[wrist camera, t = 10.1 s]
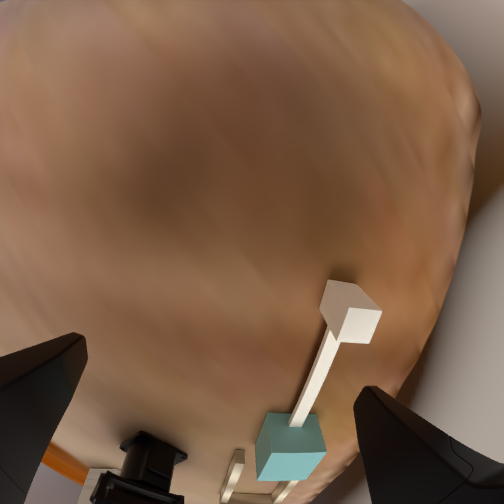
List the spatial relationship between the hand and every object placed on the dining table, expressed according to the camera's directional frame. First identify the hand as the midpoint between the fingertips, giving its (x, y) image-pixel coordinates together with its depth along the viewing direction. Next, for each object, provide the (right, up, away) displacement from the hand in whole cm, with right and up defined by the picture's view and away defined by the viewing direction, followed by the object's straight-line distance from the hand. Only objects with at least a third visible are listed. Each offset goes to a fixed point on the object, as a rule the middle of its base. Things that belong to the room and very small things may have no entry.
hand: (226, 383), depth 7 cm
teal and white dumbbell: (+5, -8, +15) cm, 18 cm away
